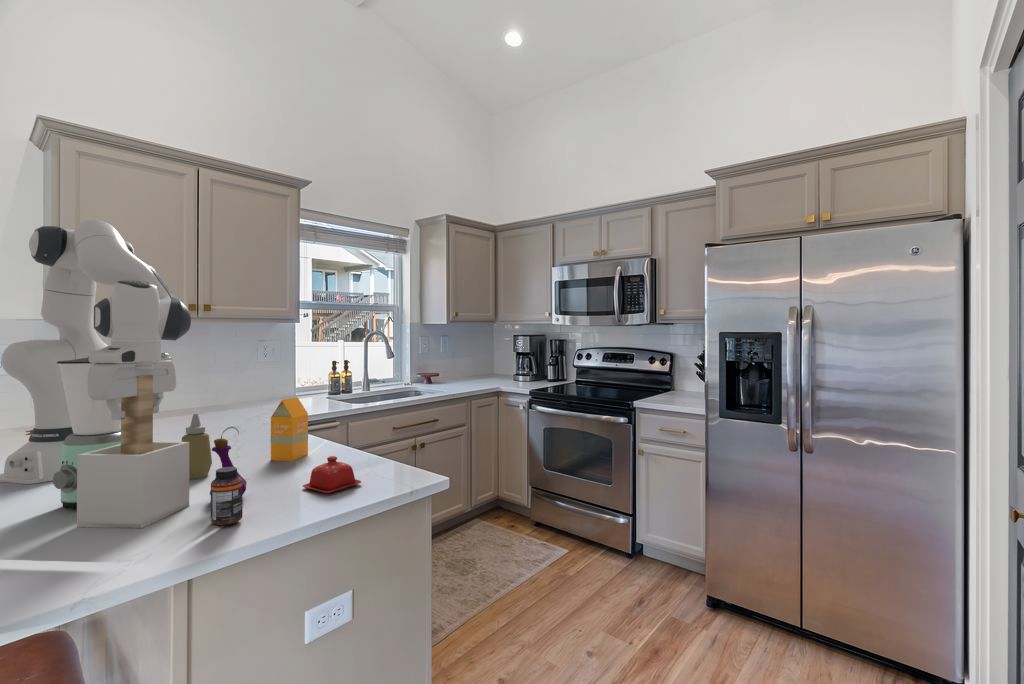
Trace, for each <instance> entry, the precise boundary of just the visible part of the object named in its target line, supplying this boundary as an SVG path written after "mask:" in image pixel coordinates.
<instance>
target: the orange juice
mask: <svg viewBox="0 0 1024 684" xmlns="http://www.w3.org/2000/svg"><path fill="white" fill-rule="evenodd" d="M307 455H309V413H308V412H307V410H306V409H305V407H304V405H303V403H302V402H301V400H300V399H299V397H298V396H296V397H290V398H287V399H281V401H280V402H279V404H278V406H277V407H276V409H275V410H274V411H273V414H272V415H271V416H270V461H280V462H281V461H283V462H294V461H295V460H296V461H297V460H298V459H300V458H302V457H305V456H307Z"/></svg>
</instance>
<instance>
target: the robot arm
mask: <svg viewBox="0 0 1024 684" xmlns="http://www.w3.org/2000/svg"><path fill="white" fill-rule="evenodd" d="M28 248H29V252H30V254H31V257H32V259H33V260H34V261H35V262H36V263H39V264H41V265H45V266H46V267H49V268H48V271H47V274H46V277H45V283H44V287H43V295H42V303H41V311H40V315H41V316H42V319H43V320H44V321H45V322H46V323H48V324H49V325H51V326H53V327H56V328H57V329H58V334H59V339H29V340H23V341H17V342H12V343H10V344H9V345H8V346H7V347H6V348H5V349H4V350H3V352H2V355H1V358H0V359H1V361H0V362H1V366H2V368H3V371H4V372H5V373H6V374H8V376H10V377H12V378H14V379H16V380H17V381H19V382H20V384H22V385H23V386H24V387H25V388H26V390H27V391H28V393H29V394H30V396H31V399H32V402H33V411H34V427H33V429H31V430H25V433H26V434H25V436H29V438H28V440H27V441H28V442H26V443H25V444H24V445H21V447H20V448H18V449H17V450H15V451H13V453H10V455H8V456H7V458H6V459H5V461H4V469H3V472H2V473H0V483H1V482H4V483H11V484H13V483H14V484H21V485H33V484H40V483H45V482H53V476H54V474H55V473H56V472H58V471H60V468H61V449H62V444H63V442H64V441H65V439H66V437H68V436H69V435H70V434H73V430H72V426H71V421H70V416H69V411H68V407H67V402H66V397H65V392H64V387H63V382H62V376H61V370H60V368H59V365H58V364H57V362H58V361H66V360H75V359H81V358H88V356H89V362H90V363H96V364H93V365H92V366H91V367H90V369H89V372H88V395H89V396H90V398H91V399H92V400H106V405H107V406H108V408H109V409H110V411H111V418H112V420H120V419H124V418H125V411H122V410H121V408H120V405H119V404H120V403H121V398H125V397H133V396H137V393H138V382H137V378H136V376H147V375H153V414H157V413H160V405H161V403H162V400H163V399H164V393H168V392H173V391H175V389H176V387H177V374H176V367H175V364H174V362H173V357H171V355H169V353H166V352H162V349H161V348H162V341H174V342H175V341H177V340H179V339H180V338H182V337H183V336H184V335H186V334H187V333H188V332H189V331H190V329H191V324H192V317H191V313H190V311H189V308H188V307H187V306H186V305H185V303H183V302H182V301H181V300H180V299H179V298H177V297H176V295H175V294H174V293H173V291H172V290H171V289H170V288H169V287H168V284H166V282H165V281H164V280H163V278H162V277H161V276H160V274H159V273H158V272H157V271H156V269H154V267H153V266H151V265H150V264H148V263H146V262H144V261H143V260H141V258H138V256H136V254H135V249H134V246H133V245H132V244H131V242H129V241H127V240H125V239H124V238H123V237H122V235H121V234H120V232H119V231H118V230H117V229H116V228H115V227H114V226H113V225H112V224H111V223H108V222H106V221H103V220H100V219H88V220H84V221H81V222H80V223H79V224H77V226H75V228H74V229H73V228H63V227H59V226H56V225H55V226H53V225H44V226H43V225H42V226H40V227H38V228H36V229H34V231H33V233H32V234H31V236H30V238H29V240H28ZM97 283H98V284H102V285H106V286H112V287H113V289H112V294H111V295H110V296H109V297H105V298H103V299H102V300H100V301H99V302H97V303H96V295H97ZM95 303H96V304H95ZM97 332H98V333H99V334H100V335H101V336H103V337H104V338H109V339H110V345H108V344H107V343H106V342H104V341H103V340H102V339H101V338H100V336H99V334H98V333H97ZM161 340H162V341H161Z"/></svg>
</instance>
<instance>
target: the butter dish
mask: <svg viewBox="0 0 1024 684" xmlns="http://www.w3.org/2000/svg"><path fill="white" fill-rule="evenodd" d="M337 459H338V456H335V455H332V456H331V455H329V456H328V457H327V458H326V460H327V461H328V462H325V463H322V464H319V465H317V466H315V467H314V468H312V470H311V473H310V479H309V482H308V483H305V484H303V485H302V488H305V489H310V490H314V491H317V492H320V493H325V494H332V493H331V492H333V493H336V492H338V490H339V491H341V489H342V490H344V488H345V489H348V488H351V487H350V486H352V487H353V486H355V485H358V484H360V483H362V480H359V479H357V478H355V474H354V470H353V467H352V466H351V465H350V464H348V463H345V462H341V461H337ZM347 487H348V488H347ZM335 491H336V492H335Z"/></svg>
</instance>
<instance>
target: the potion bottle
mask: <svg viewBox="0 0 1024 684" xmlns="http://www.w3.org/2000/svg"><path fill="white" fill-rule="evenodd" d="M230 429H235V431H236V432H237V434H238V435H240V431H239V429H238V428H237V427H235V426H233V425H232V426H228V427H227V428H225V429H224V430H223V431H222V433H221V436H220V438H216V439H215V440H213V443H214V444H213V445H214V447H212V448H211V452H215V454H216V455H217V456H218V457H219V459H220V463H221V468H223V467H235V466H234V464H233V462H232V460H231V458H230V456H229V451H230V450H231V449H232V446H231V445H228V444H229V441H228V439H227V438H223V435H224V433H225V432H226V431H228V430H230ZM237 475H238V477H240V478H241V479H242V496H244V494H245V493H246V491H247V480H246V479H245V478H243V476H242V475H241V474H240V473H239V472H238V471H237ZM209 495H210V496H211V489H210V491H209Z"/></svg>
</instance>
